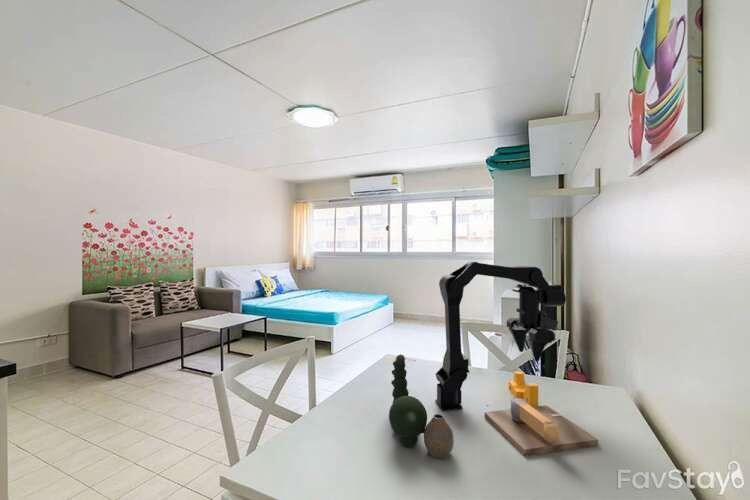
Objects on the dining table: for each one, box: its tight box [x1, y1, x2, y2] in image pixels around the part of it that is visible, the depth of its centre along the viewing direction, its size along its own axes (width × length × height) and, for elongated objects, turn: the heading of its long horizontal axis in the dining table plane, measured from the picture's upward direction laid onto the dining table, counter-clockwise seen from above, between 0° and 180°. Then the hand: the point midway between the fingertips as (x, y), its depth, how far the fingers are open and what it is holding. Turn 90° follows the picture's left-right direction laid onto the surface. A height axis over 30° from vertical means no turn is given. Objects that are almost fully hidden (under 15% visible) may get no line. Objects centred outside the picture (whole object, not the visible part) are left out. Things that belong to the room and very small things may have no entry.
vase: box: [423, 413, 455, 459], centre depth 79 cm, size 7×7×9 cm
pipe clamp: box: [508, 371, 539, 407], centre depth 107 cm, size 12×4×6 cm, turn 179°
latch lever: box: [510, 397, 558, 443], centre depth 85 cm, size 16×4×4 cm, turn 11°
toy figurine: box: [388, 354, 428, 448], centre depth 88 cm, size 9×19×25 cm
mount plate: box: [484, 405, 599, 457], centre depth 88 cm, size 20×18×3 cm
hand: (528, 356), depth 105 cm, fingers open, 9 cm apart
